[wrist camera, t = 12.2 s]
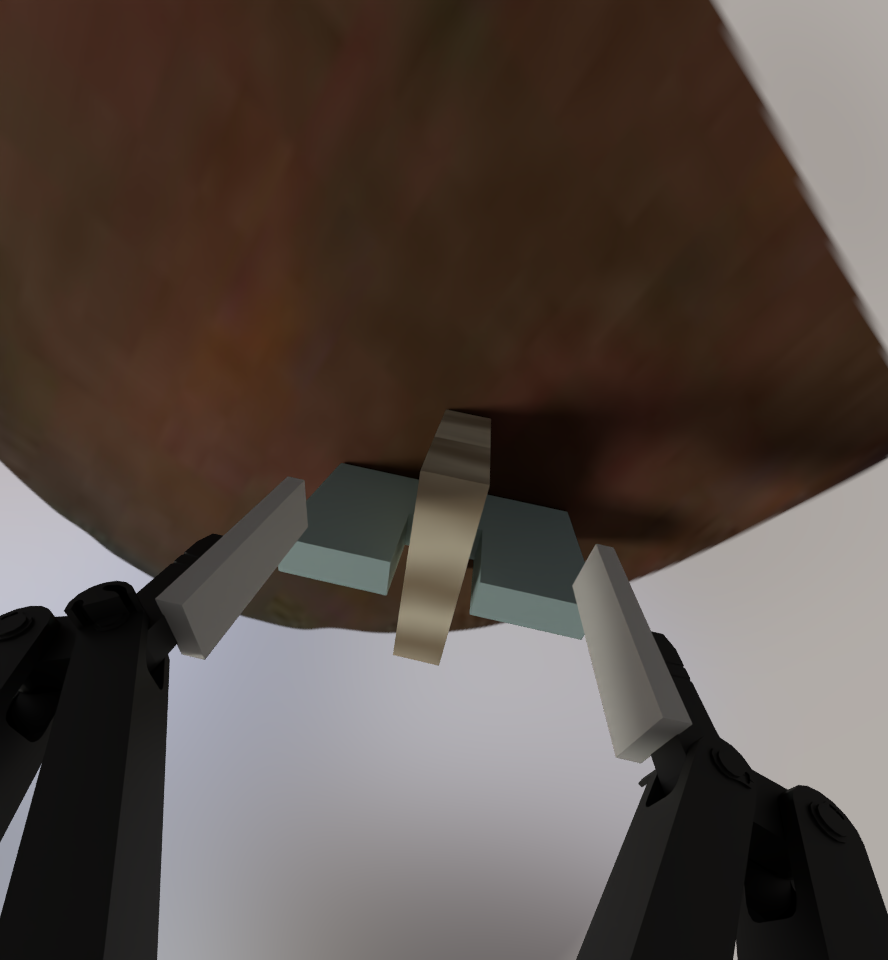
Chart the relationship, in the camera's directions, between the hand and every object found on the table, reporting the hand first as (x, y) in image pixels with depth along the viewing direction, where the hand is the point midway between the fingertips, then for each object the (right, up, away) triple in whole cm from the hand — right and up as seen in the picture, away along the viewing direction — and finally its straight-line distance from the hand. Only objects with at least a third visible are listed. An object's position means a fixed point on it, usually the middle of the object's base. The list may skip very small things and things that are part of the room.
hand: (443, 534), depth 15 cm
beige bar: (+1, +1, +14) cm, 14 cm away
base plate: (+1, +1, +14) cm, 14 cm away
